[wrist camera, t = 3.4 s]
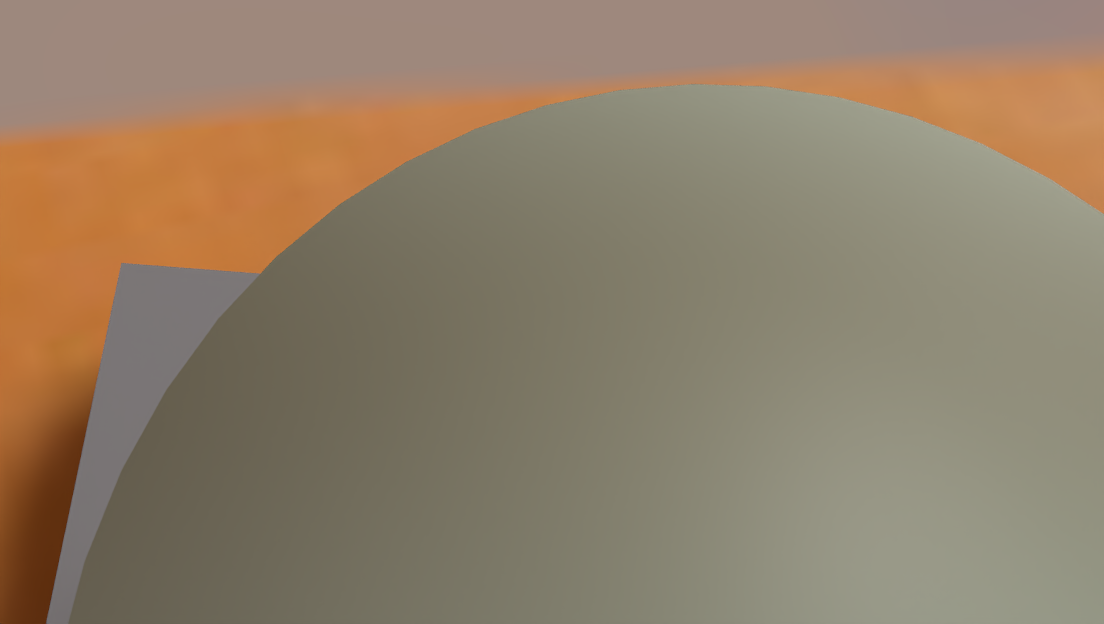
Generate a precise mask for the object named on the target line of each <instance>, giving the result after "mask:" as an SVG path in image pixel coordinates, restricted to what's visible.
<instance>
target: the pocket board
mask: <svg viewBox="0 0 1104 624" xmlns="http://www.w3.org/2000/svg"><path fill="white" fill-rule="evenodd" d="M259 275H260V274H257V273H244V272H231V271H217V270H204V269H191V268H178V267H165V266H152V265H139V264H126V263H121V268H120V273H119V278H118V282H117V287H116V292H115V297H114V301H113V306H112V311H111V316H110V320H109V325H108V330H107V335H106V340H105V344H104V349H103V354H102V359H101V363H100V368H99V373H98V378H97V383H96V387H95V392H94V397H93V402H92V406H91V411H90V416H89V421H88V426H87V430H86V435H85V440H84V445H83V449H82V454H81V459H80V464H79V469H78V473H77V478H76V483H75V488H74V492H73V497H72V502H71V507H70V512H69V516H68V521H67V526H66V531H65V535H64V540H63V545H62V550H61V555H60V559H59V564H58V569H57V574H56V578H55V583H54V588H53V593H52V598H51V602H50V607H49V612H48V617H47V621H46V624H68V622H69V618H70V615H71V611H72V607H73V603H74V600H75V596H76V592H77V588H78V585H79V581H80V577H81V573H82V570H83V566H84V562H85V559H86V557H87V554H88V552H89V549H90V547H91V544H92V542H93V539H94V537H95V534H96V532H97V529H98V527H99V525H100V522H101V520H102V517H103V515H104V512H105V510H106V507H107V505H108V502H109V500H110V497H111V495H112V492H113V490H114V487H115V485H116V483H117V480H118V478H119V475H120V473H121V470H122V469H123V467H124V465H125V463H126V461H127V460H128V458H129V456H130V454H131V452H132V451H133V449H134V447H135V445H136V443H137V442H138V440H139V438H140V436H141V434H142V433H143V431H144V429H145V427H146V425H147V424H148V422H149V420H150V418H151V416H152V415H153V413H154V411H155V409H156V407H157V406H158V404H159V402H160V400H161V398H162V397H163V395H164V393H165V391H166V390H167V388H168V387H169V385H170V384H171V383H172V381H173V380H174V379H175V377H176V376H177V374H178V373H179V372H180V370H181V369H182V368H183V366H184V365H185V364H186V362H187V361H188V359H189V358H190V357H191V355H192V354H193V353H194V351H195V350H196V348H197V347H198V346H199V344H200V343H201V342H202V340H203V339H204V338H205V336H206V335H207V333H208V332H209V331H210V329H211V328H212V327H213V325H214V324H215V322H216V321H217V320H218V318H219V317H220V316H221V315H222V314H223V313H224V312H225V311H226V310H227V309H228V308H229V307H230V306H231V305H232V304H233V302H234V301H235V300H236V299H237V298H238V297H239V296H240V295H241V294H242V293H243V292H244V291H245V290H246V289H247V288H248V287H249V285H250V284H251V283H252V282H253V281H254V280H255V279H256V278H257V277H258V276H259Z"/></svg>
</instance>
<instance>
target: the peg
mask: <svg viewBox="0 0 1104 624" xmlns="http://www.w3.org/2000/svg"><path fill="white" fill-rule="evenodd" d="M68 624H1104V214H1103V213H1101V212H1100V211H1098V210H1097V209H1095V208H1094V207H1092V206H1090V205H1089V204H1087V203H1086V202H1084V201H1083V200H1081V199H1080V198H1078V197H1077V196H1075V195H1074V194H1072V193H1071V192H1069V191H1068V190H1066V189H1065V188H1063V187H1061V186H1060V185H1058V184H1057V183H1055V182H1054V181H1052V180H1051V179H1049V178H1047V177H1045V176H1043V175H1041V174H1039V173H1037V172H1035V171H1034V170H1032V169H1030V168H1028V167H1026V166H1024V165H1022V164H1020V163H1018V162H1016V161H1014V160H1012V159H1010V158H1008V157H1006V156H1004V155H1002V154H1001V153H999V152H997V151H995V150H993V149H991V148H989V147H987V146H985V145H983V144H981V143H978V142H976V141H973V140H971V139H968V138H965V137H963V136H960V135H958V134H955V133H952V132H950V131H947V130H945V129H942V128H940V127H937V126H934V125H932V124H929V123H927V122H924V121H921V120H919V119H916V118H914V117H911V116H907V115H903V114H900V113H896V112H892V111H888V110H885V109H881V108H877V107H873V106H870V105H866V104H862V103H858V102H854V101H851V100H847V99H843V98H839V97H833V96H826V95H819V94H813V93H806V92H799V91H792V90H786V89H779V88H772V87H763V86H733V85H703V84H689V85H677V86H665V87H653V88H641V89H629V90H618V91H613V92H609V93H604V94H599V95H594V96H589V97H584V98H579V99H574V100H570V101H565V102H560V103H555V104H550V105H546V106H543V107H540V108H537V109H534V110H531V111H528V112H525V113H522V114H519V115H516V116H513V117H510V118H507V119H504V120H501V121H498V122H495V123H492V124H489V125H486V126H483V127H480V128H477V129H474V130H472V131H470V132H468V133H466V134H464V135H462V136H460V137H458V138H456V139H453V140H451V141H449V142H447V143H445V144H443V145H441V146H439V147H437V148H435V149H433V150H430V151H428V152H426V153H424V154H422V155H420V156H418V157H416V158H414V159H412V160H409V161H407V162H405V163H404V164H402V165H401V166H399V167H398V168H396V169H394V170H393V171H391V172H390V173H388V174H387V175H385V176H384V177H382V178H380V179H379V180H377V181H376V182H374V183H373V184H371V185H369V186H368V187H366V188H365V189H363V190H362V191H360V192H358V193H357V194H355V195H354V196H352V197H351V198H349V199H347V200H346V201H344V202H343V203H341V204H340V205H338V206H337V207H336V208H335V209H334V210H332V211H331V212H330V213H329V214H328V215H326V216H325V217H324V218H323V219H321V220H320V221H319V222H318V223H317V224H315V225H314V226H313V227H312V228H311V229H309V230H308V231H307V232H306V233H305V234H303V235H302V236H301V237H300V238H299V239H297V240H296V241H295V242H294V243H293V244H291V245H290V246H289V247H288V248H286V249H285V250H284V251H283V252H282V253H280V254H279V255H278V256H277V257H276V258H275V259H274V260H273V261H272V262H271V263H270V264H269V265H268V266H267V267H266V268H265V270H264V271H263V272H262V273H261V274H260V275H259V276H258V277H257V278H256V279H255V280H254V281H253V282H252V283H251V284H250V285H249V287H248V288H247V289H246V290H245V291H244V292H243V293H242V294H241V295H240V296H239V297H238V298H237V299H236V300H235V301H234V302H233V304H232V305H231V306H230V307H229V308H228V309H227V310H226V311H225V312H224V313H223V314H222V315H221V316H220V317H219V318H218V320H217V321H216V322H215V324H214V325H213V327H212V328H211V329H210V331H209V332H208V333H207V335H206V336H205V338H204V339H203V340H202V342H201V343H200V344H199V346H198V347H197V348H196V350H195V351H194V353H193V354H192V355H191V357H190V358H189V359H188V361H187V362H186V364H185V365H184V366H183V368H182V369H181V370H180V372H179V373H178V374H177V376H176V377H175V379H174V380H173V381H172V383H171V384H170V385H169V387H168V388H167V390H166V391H165V393H164V395H163V397H162V398H161V400H160V402H159V404H158V406H157V407H156V409H155V411H154V413H153V415H152V416H151V418H150V420H149V422H148V424H147V425H146V427H145V429H144V431H143V433H142V434H141V436H140V438H139V440H138V442H137V443H136V445H135V447H134V449H133V451H132V452H131V454H130V456H129V458H128V460H127V461H126V463H125V465H124V467H123V469H122V470H121V473H120V475H119V478H118V480H117V483H116V485H115V487H114V490H113V492H112V495H111V497H110V500H109V502H108V505H107V507H106V510H105V512H104V515H103V517H102V520H101V522H100V525H99V527H98V529H97V532H96V534H95V537H94V539H93V542H92V544H91V547H90V549H89V552H88V554H87V557H86V559H85V562H84V566H83V570H82V573H81V577H80V581H79V585H78V588H77V592H76V596H75V600H74V603H73V607H72V611H71V615H70V618H69V622H68Z"/></svg>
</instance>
